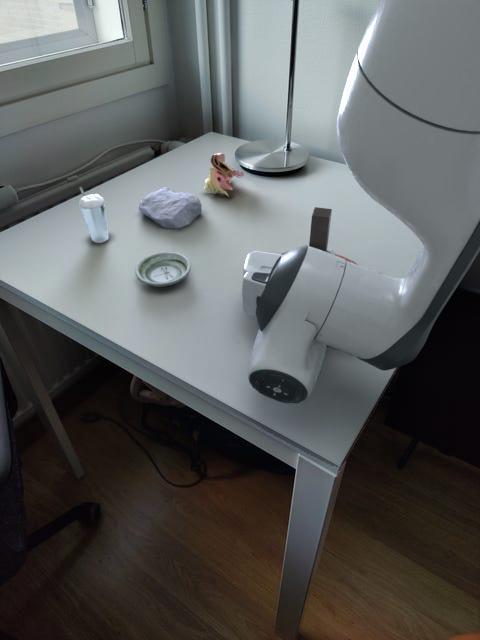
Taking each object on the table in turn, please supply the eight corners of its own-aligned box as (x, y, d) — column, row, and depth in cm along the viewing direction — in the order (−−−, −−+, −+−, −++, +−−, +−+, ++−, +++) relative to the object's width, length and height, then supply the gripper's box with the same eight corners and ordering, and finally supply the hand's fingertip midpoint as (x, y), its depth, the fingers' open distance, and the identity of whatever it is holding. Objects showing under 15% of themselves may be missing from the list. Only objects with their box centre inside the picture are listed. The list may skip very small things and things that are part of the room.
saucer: (127, 275, 83) (125, 264, 81) (173, 256, 87) (172, 245, 85) (154, 302, 77) (152, 290, 75) (202, 280, 81) (201, 269, 80)
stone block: (179, 239, 95) (206, 210, 100) (173, 220, 91) (201, 191, 96) (136, 225, 100) (164, 199, 105) (129, 207, 96) (158, 181, 101)
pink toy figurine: (211, 206, 103) (188, 168, 102) (222, 206, 112) (201, 172, 112) (246, 182, 100) (222, 144, 99) (253, 185, 110) (232, 150, 109)
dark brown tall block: (326, 282, 78) (335, 207, 69) (323, 295, 76) (332, 219, 67) (305, 279, 79) (311, 204, 70) (301, 292, 77) (307, 216, 67)
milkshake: (102, 229, 95) (90, 183, 88) (116, 238, 92) (106, 192, 85) (82, 237, 93) (69, 191, 86) (96, 247, 90) (84, 200, 83)
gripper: (383, 299, 59) (389, 243, 69) (232, 275, 64) (257, 226, 74) (375, 334, 64) (381, 277, 74) (233, 309, 68) (257, 259, 78)
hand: (318, 251), depth 74 cm, fingers closed on dark brown tall block, 2 cm apart
